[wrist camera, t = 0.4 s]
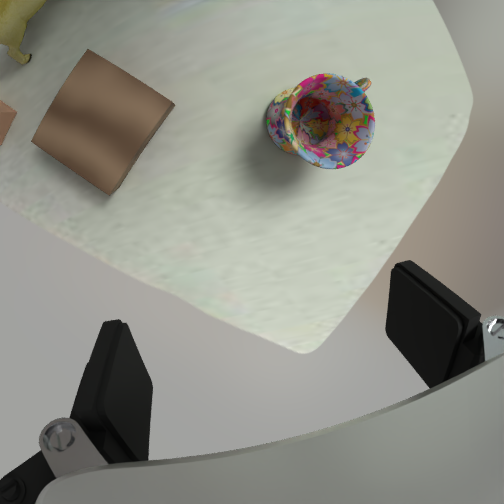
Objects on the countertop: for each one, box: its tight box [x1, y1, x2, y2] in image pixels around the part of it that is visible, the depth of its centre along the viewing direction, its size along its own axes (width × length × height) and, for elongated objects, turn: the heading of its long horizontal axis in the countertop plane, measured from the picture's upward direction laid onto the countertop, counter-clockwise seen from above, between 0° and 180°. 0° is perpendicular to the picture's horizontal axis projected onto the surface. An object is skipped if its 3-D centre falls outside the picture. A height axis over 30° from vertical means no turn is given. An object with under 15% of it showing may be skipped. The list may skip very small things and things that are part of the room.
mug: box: [266, 74, 375, 169], centre depth 32 cm, size 12×9×11 cm
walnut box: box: [31, 49, 175, 196], centre depth 31 cm, size 12×12×5 cm
